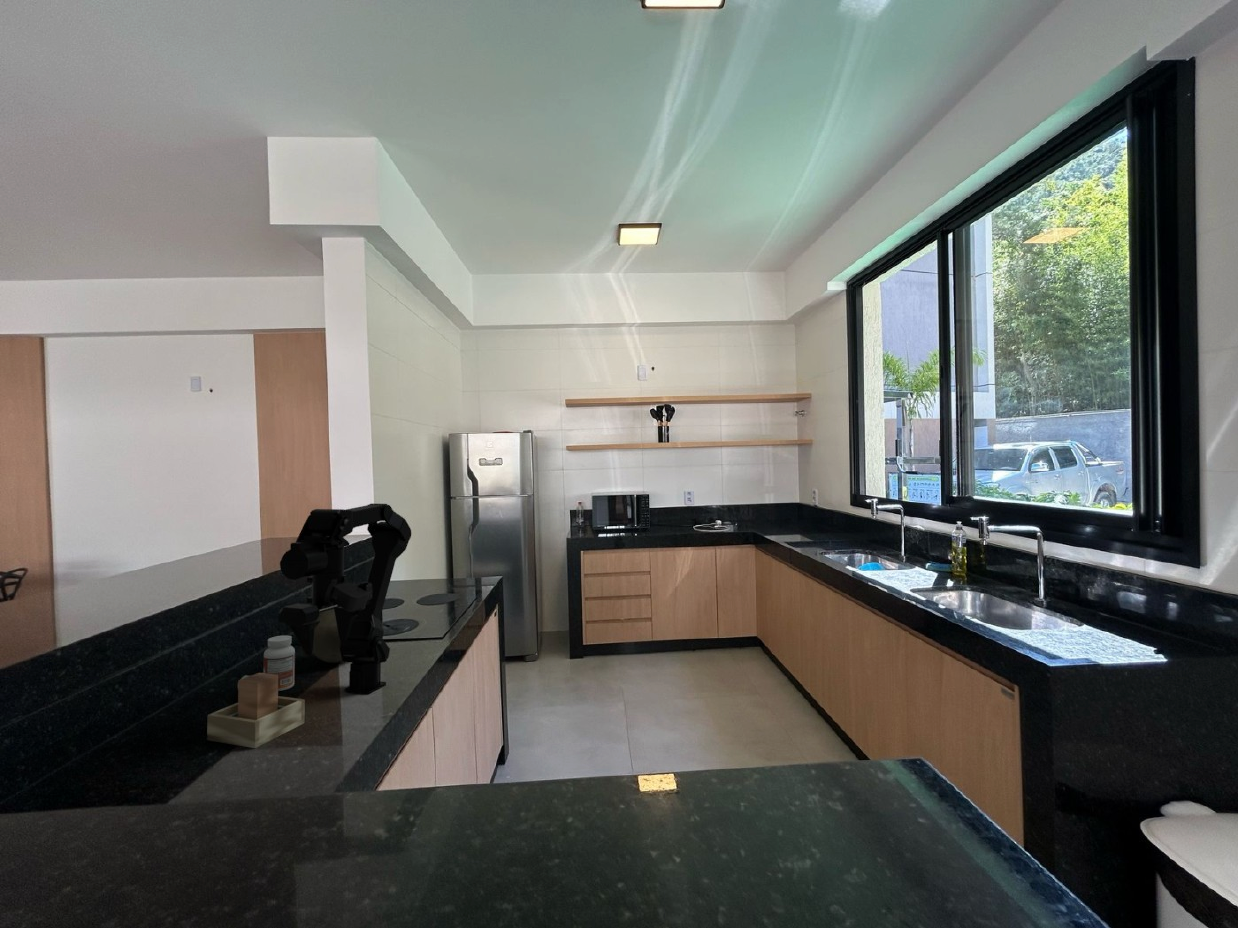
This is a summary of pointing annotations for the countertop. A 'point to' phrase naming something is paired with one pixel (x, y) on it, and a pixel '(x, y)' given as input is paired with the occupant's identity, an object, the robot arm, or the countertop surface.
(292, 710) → the socket box
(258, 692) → the peg
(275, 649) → the pill bottle
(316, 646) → the cantaloupe
